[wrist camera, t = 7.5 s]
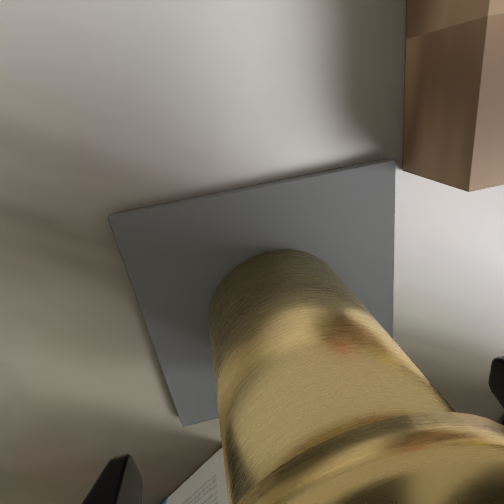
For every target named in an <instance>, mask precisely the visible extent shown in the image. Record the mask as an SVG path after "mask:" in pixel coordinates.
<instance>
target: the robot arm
mask: <svg viewBox="0 0 504 504" xmlns="http://www.w3.org/2000/svg"><path fill="white" fill-rule="evenodd" d="M489 386H490V389H491V391H492V393H493V394H494V395H495V397H496V398H497V400H498V401H499V402H500V404H501V405H502V406H503V408H504V356H501V357H497V358H494V360H493V361H492V365H491V370H490V376H489ZM502 425H504V421H503V423H502ZM82 504H142V479H141V475H140V473H139V471H138V469H137V467H136V464H135V462H134V460H133V458H132V456H131V455H130V454H125V455H121V456H117V457H114V458H112V459H111V460H110V461H109V462H108V463H107V465H106V466H105V468H104V470H103V471H102V473H101V474H100V476H99V478H98V479H97V481H96V482H95V484H94V485H93V487H92V489H91V490H90V492H89V493H88V495H87V496H86V498H85V500H84V501H83V503H82Z"/></svg>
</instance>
